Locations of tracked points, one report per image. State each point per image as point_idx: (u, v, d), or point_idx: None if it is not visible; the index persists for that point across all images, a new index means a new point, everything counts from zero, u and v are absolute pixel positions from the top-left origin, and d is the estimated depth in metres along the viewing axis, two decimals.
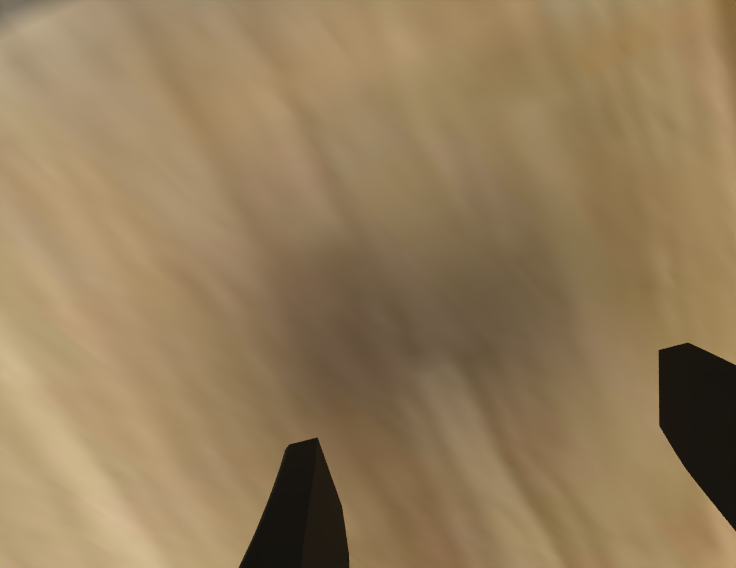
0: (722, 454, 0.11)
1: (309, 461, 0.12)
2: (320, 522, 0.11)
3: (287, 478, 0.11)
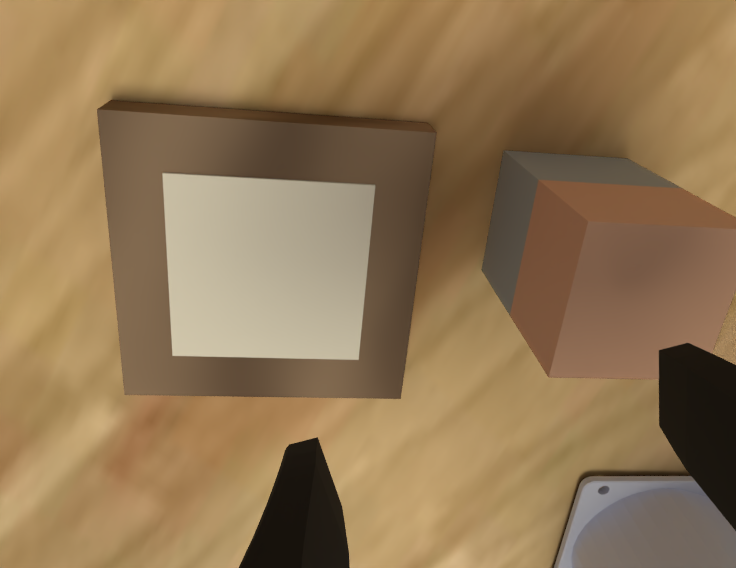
0: (722, 454, 0.11)
1: (309, 461, 0.12)
2: (320, 522, 0.11)
3: (287, 478, 0.11)
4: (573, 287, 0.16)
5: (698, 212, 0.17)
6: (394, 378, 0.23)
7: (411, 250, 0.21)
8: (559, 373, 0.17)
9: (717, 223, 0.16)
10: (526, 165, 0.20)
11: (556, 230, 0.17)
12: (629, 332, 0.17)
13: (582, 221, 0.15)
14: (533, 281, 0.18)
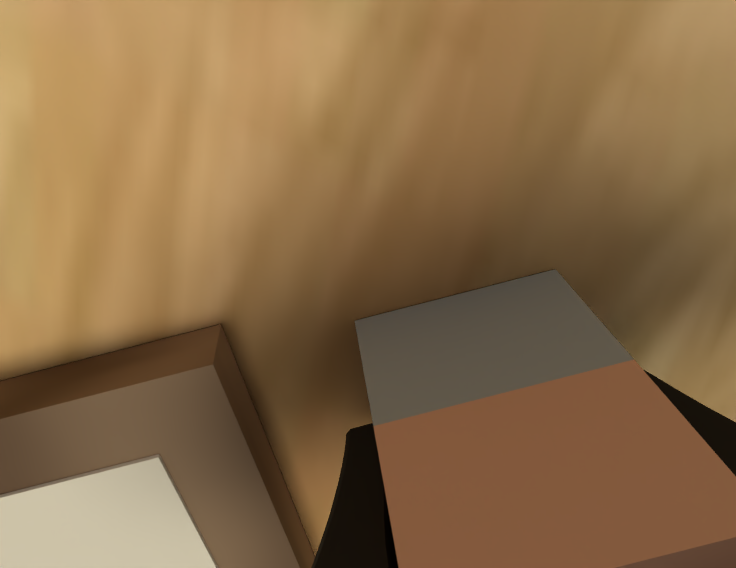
0: None
1: (375, 444, 0.12)
2: None
3: (355, 461, 0.11)
4: None
5: (653, 470, 0.08)
6: None
7: (260, 510, 0.14)
8: None
9: (688, 518, 0.08)
10: (372, 368, 0.12)
11: None
12: None
13: None
14: None
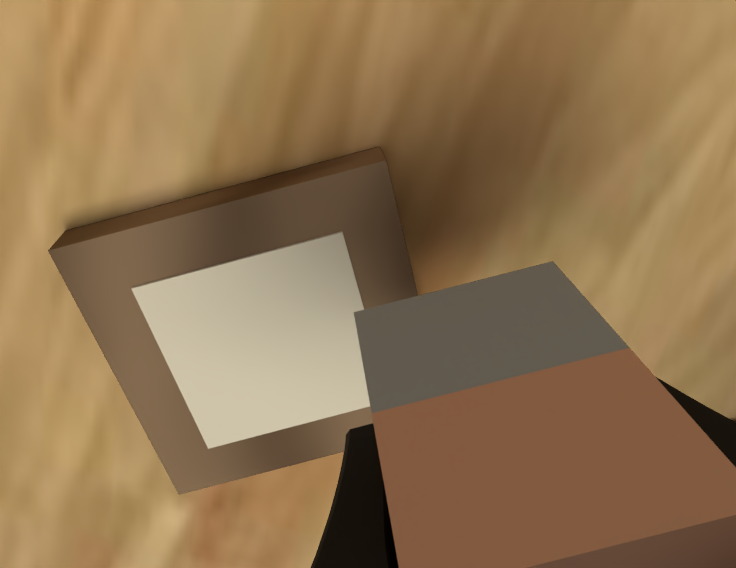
0: None
1: (375, 444, 0.12)
2: None
3: (355, 461, 0.11)
4: None
5: (647, 452, 0.09)
6: None
7: (404, 282, 0.20)
8: None
9: (681, 499, 0.08)
10: (371, 358, 0.12)
11: None
12: None
13: None
14: None
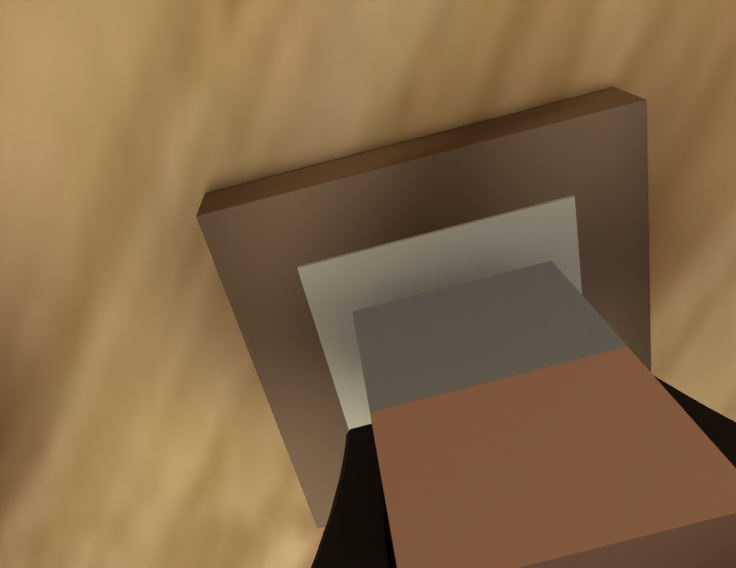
0: None
1: (375, 444, 0.12)
2: None
3: (355, 461, 0.11)
4: None
5: (645, 452, 0.09)
6: None
7: (636, 263, 0.15)
8: None
9: (679, 498, 0.08)
10: (369, 357, 0.12)
11: None
12: None
13: None
14: None
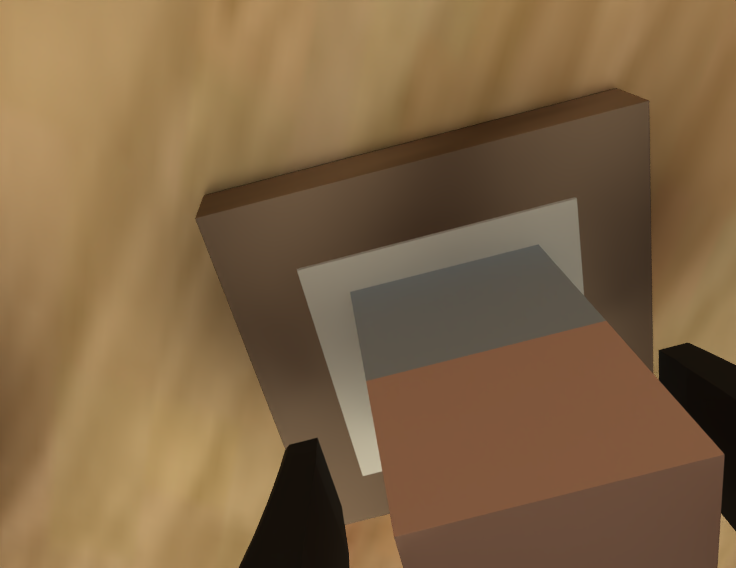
0: None
1: (309, 461, 0.12)
2: (320, 522, 0.11)
3: (287, 478, 0.11)
4: None
5: (617, 411, 0.09)
6: None
7: (639, 265, 0.15)
8: None
9: (646, 450, 0.09)
10: (366, 332, 0.13)
11: None
12: None
13: (392, 524, 0.09)
14: None
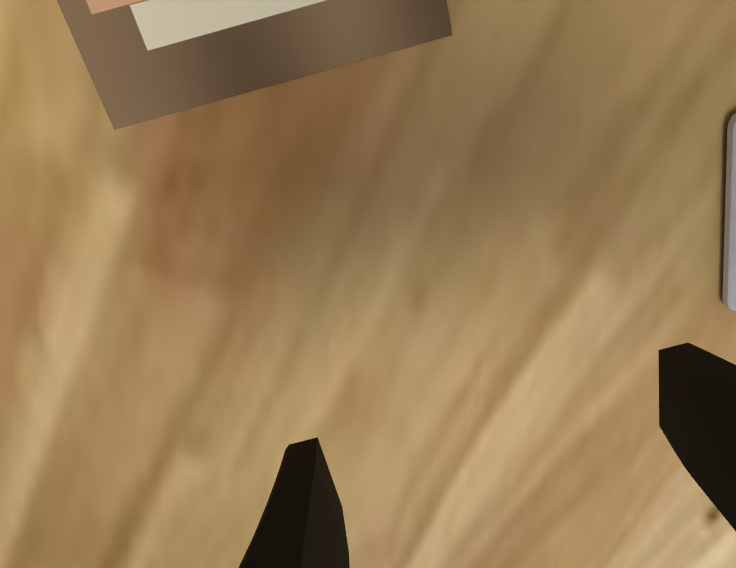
0: (722, 454, 0.11)
1: (309, 461, 0.12)
2: (320, 522, 0.11)
3: (287, 478, 0.11)
4: None
5: None
6: (434, 4, 0.17)
7: None
8: (103, 0, 0.10)
9: None
10: None
11: None
12: None
13: None
14: None
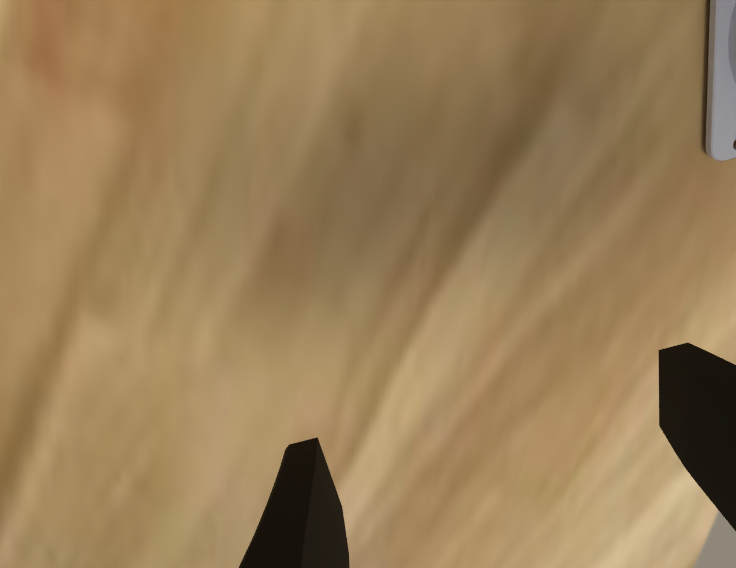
0: (722, 454, 0.11)
1: (309, 461, 0.12)
2: (320, 522, 0.11)
3: (287, 478, 0.11)
4: None
5: None
6: None
7: None
8: None
9: None
10: None
11: None
12: None
13: None
14: None
